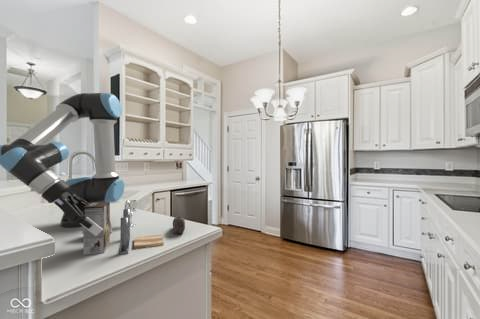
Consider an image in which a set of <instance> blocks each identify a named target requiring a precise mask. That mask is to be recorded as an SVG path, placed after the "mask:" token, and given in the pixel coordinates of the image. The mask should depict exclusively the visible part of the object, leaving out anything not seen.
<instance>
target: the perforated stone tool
mask: <svg viewBox="0 0 480 319" xmlns="http://www.w3.org/2000/svg"><path fill="white" fill-rule="evenodd" d="M172 220H173V221H172V230H173V233H175V234H177V235H178V234H179V235H180V234H183V233H184V232H185V228H186V222H185V218H184V217H183V216H182V215H176V216H175V217H174V218H173V219H172Z"/></svg>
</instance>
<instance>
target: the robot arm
mask: <svg viewBox="0 0 480 319" xmlns="http://www.w3.org/2000/svg"><path fill="white" fill-rule="evenodd" d="M122 112H123V111H122V104H121V101H120V100H119V99H118V97H117V96H116V95H115V94H113V93H109V92H94V93H93V92H91V93H89V92H87V93H86V92H85V93H82V92H81V93H77V94H74V95H71V96H70V97H68V98H66V99H64V100H63V101H62V102H60V103H59V104H57V105H56V107H55V110H53V111H52V112H51V113H49V115H47V116H46V117H44V118H43V119H41V120H40V121H39V122H38V123H36V124H35V125H34V126H32V127H31V128H29V129H28V130H27V131H26V132H24V133H23V134H22V135H21V136H19V137H18V138H17V139H15V140H14V141H13V142H11V143H9V144H2V145H1V144H0V166H1V167H2V168H3V169H4V170H5V171H7V173H10V174H11V175H12V176H13V177H15V178H16V179H17V180H19V181H20V182H22V183H23V184H24V185H26V186H27V187H29V188H30V192H35V193H37V194H38V195H41V198H43V199H44V200H45V201H46V202H48V203H51V204H52V203H54V204H55V205H56V207H58V208H59V209H60V210H61V211H62V212H63V214H62V216H61V219H60V227H62V228H74V227H75V228H78V227H82V228H83V227H84V228H86V229H87V230H88V231H90V232H91V233H92V234H94V235H95V236H97V235H98V234H99V233H100V232H101V231H102V230H103V229H102V228H101V227H100V226H98V225H97V224H96V223H95V222H93V221H92V220H91V219H89V218H88V217H85V216H84V207H85V206H86V205H88V204H90V203H92V202H110V203H117V202H118V201H120V199H121V198H122V196H123V195H124V193H125V192H124V191H125V182H124V180H123V179H121V178H120V175H119V173H117V172H116V157H115V156H116V155H115V154H116V152H115V151H116V150H115V130H114V129H115V128H114V125H116V124H117V122H118V120H117V119H118V118H119V117H121V115H122ZM85 118H89V122H90V123H92V125H93V142H94V143H93V146H94V164H95V168H94V169H95V173H94V174H93V175H92V176H91V175H90V176H82V177H76V178H69V179H67V180H66V181H65V180H64V179H61V177H60V176H59V175H58V174H57V173H55V172H54V171H52V170H51V169H50V168H52V167H54V166H56V165H57V164H61V163H62V162H63V161H65V160H67V159H68V157H69V154H70V153H69V149H68V147H67V146H66V145H65V144H64V143H62V142H60V141H53V142H51V141H52V140H54V138H55V137H56V136H57V135H59V134H60V133H61V132H62V131H64V129H66V127H68V126H69V125H70V124H71V123H75V122H77V121H78V120H79V119H85Z"/></svg>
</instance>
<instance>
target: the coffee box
mask: <svg viewBox="0 0 480 319" xmlns="http://www.w3.org/2000/svg"><path fill="white" fill-rule="evenodd" d="M110 204H111V202H92V203H90V204H88V205H86V206H85V207H84V216H85V217H88V218H89V219H91V220H92V221H93V222H95V223H96V224H97V225H98V226H100V227H101V228H102V229H103V230H102V231H101V232H100V233H99V234H98V235H97V236H95V235H94V234H92V233H91V232H90V231H88V230H87V229H86V228H84V235H83V239H82V240H83V246H82V247H83V251H82V252H83V253H82V254H83V256H85V255H97V254H104V253H105V251H106V250H108V247H109V245H110V244H111V241H110V240H111V239H110V238H111V237H110V236H111V233H110V222H111V205H110Z"/></svg>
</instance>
